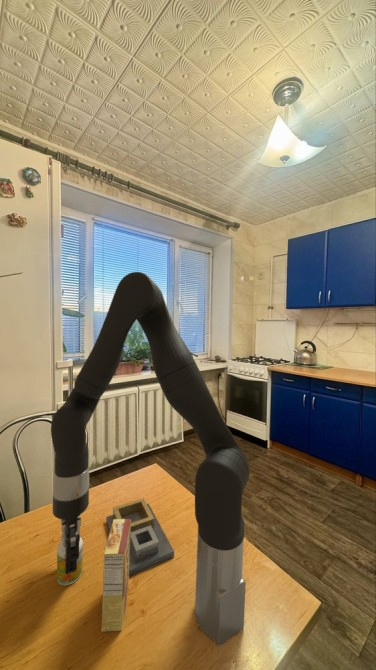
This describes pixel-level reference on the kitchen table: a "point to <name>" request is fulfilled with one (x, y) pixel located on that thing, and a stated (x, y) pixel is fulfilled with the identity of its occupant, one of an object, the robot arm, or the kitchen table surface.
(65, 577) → the supplement bottle
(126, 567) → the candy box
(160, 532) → the fitting plate
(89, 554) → the kitchen table surface
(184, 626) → the kitchen table surface
